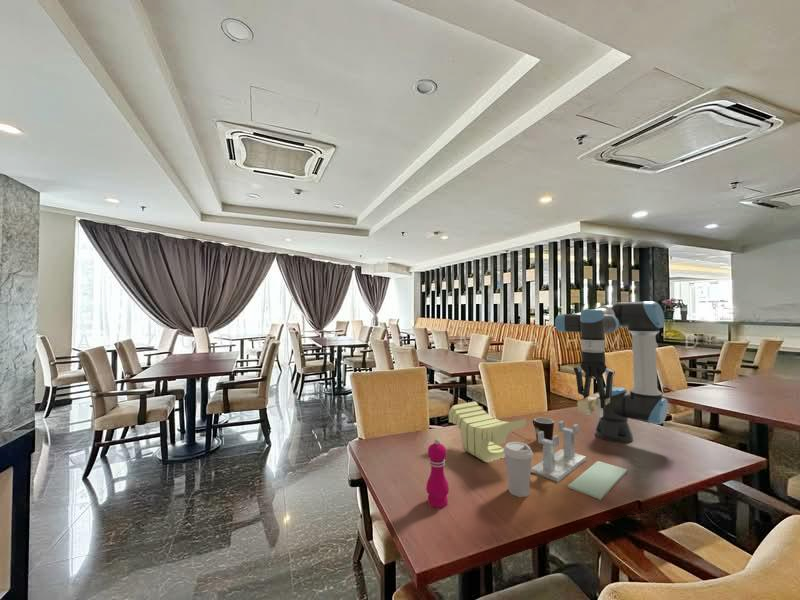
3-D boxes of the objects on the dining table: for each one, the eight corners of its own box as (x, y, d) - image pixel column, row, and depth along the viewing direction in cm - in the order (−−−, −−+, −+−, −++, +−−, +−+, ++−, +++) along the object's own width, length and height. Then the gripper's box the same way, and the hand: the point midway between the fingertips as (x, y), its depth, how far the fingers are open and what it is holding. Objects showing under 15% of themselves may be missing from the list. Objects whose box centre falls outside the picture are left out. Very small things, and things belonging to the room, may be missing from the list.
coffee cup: (518, 502, 106) (517, 454, 106) (498, 488, 115) (497, 443, 115) (540, 495, 110) (539, 449, 110) (519, 482, 118) (518, 439, 119)
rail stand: (561, 452, 143) (560, 418, 143) (586, 460, 135) (585, 424, 136) (531, 472, 126) (530, 433, 126) (557, 482, 118) (556, 440, 119)
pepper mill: (424, 496, 110) (424, 435, 110) (446, 495, 110) (445, 434, 111) (428, 509, 102) (427, 444, 103) (451, 508, 103) (450, 442, 104)
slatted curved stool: (449, 445, 152) (448, 406, 152) (476, 438, 159) (475, 401, 160) (497, 473, 125) (496, 425, 126) (526, 463, 133) (525, 418, 133)
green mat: (597, 462, 133) (597, 460, 133) (627, 471, 125) (627, 469, 125) (568, 487, 114) (568, 485, 114) (600, 499, 107) (600, 497, 107)
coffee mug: (556, 446, 149) (556, 424, 149) (536, 445, 151) (535, 423, 151) (550, 437, 160) (549, 416, 161) (531, 435, 162) (531, 415, 162)
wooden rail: (601, 401, 129) (600, 390, 130) (610, 402, 127) (609, 392, 127) (577, 412, 115) (577, 401, 115) (587, 414, 113) (586, 402, 113)
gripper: (565, 350, 126) (567, 412, 125) (614, 354, 113) (616, 423, 113) (574, 348, 131) (576, 409, 130) (621, 352, 118) (623, 418, 117)
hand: (595, 415), depth 121 cm, fingers closed on wooden rail, 3 cm apart
